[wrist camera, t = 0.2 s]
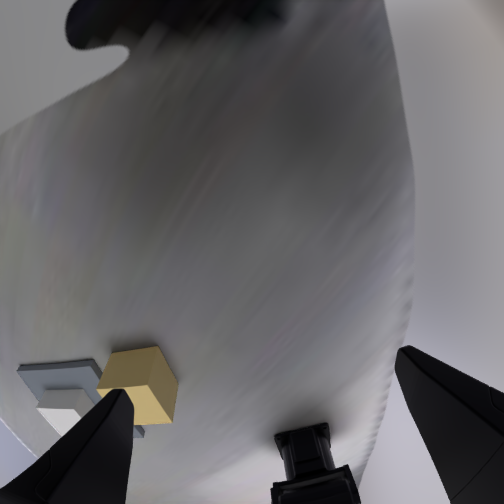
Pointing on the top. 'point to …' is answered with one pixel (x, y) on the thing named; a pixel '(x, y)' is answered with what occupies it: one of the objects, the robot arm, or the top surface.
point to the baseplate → (67, 380)
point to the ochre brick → (142, 383)
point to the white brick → (64, 408)
